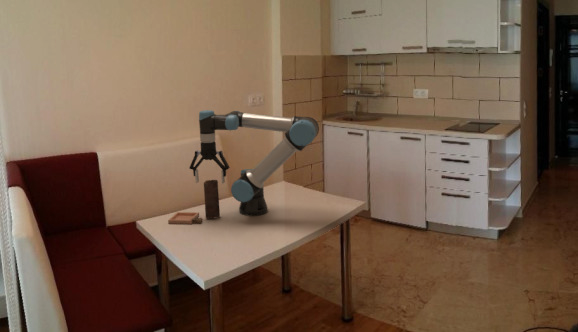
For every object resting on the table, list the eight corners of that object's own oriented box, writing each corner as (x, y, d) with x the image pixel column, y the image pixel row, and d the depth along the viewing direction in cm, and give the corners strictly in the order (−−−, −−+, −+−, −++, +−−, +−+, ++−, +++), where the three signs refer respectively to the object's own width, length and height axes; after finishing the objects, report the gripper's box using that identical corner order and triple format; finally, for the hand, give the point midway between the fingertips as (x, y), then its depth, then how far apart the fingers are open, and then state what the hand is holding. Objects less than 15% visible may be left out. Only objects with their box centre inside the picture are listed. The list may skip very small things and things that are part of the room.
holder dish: (199, 216, 272) (199, 212, 271) (191, 224, 259) (191, 220, 259) (177, 215, 273) (177, 212, 273) (168, 223, 261) (168, 220, 260)
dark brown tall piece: (217, 220, 264) (214, 182, 259) (203, 220, 265) (201, 182, 261) (221, 216, 271) (219, 178, 267) (208, 215, 272) (206, 178, 268)
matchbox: (202, 222, 262) (202, 218, 262) (200, 223, 259) (200, 220, 259) (193, 221, 263) (192, 218, 263) (191, 223, 260) (190, 220, 260)
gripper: (234, 140, 261) (235, 181, 266) (186, 140, 264) (188, 180, 269) (230, 142, 254) (232, 184, 259) (181, 142, 257) (184, 184, 262)
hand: (210, 182), depth 264 cm, fingers open, 13 cm apart
